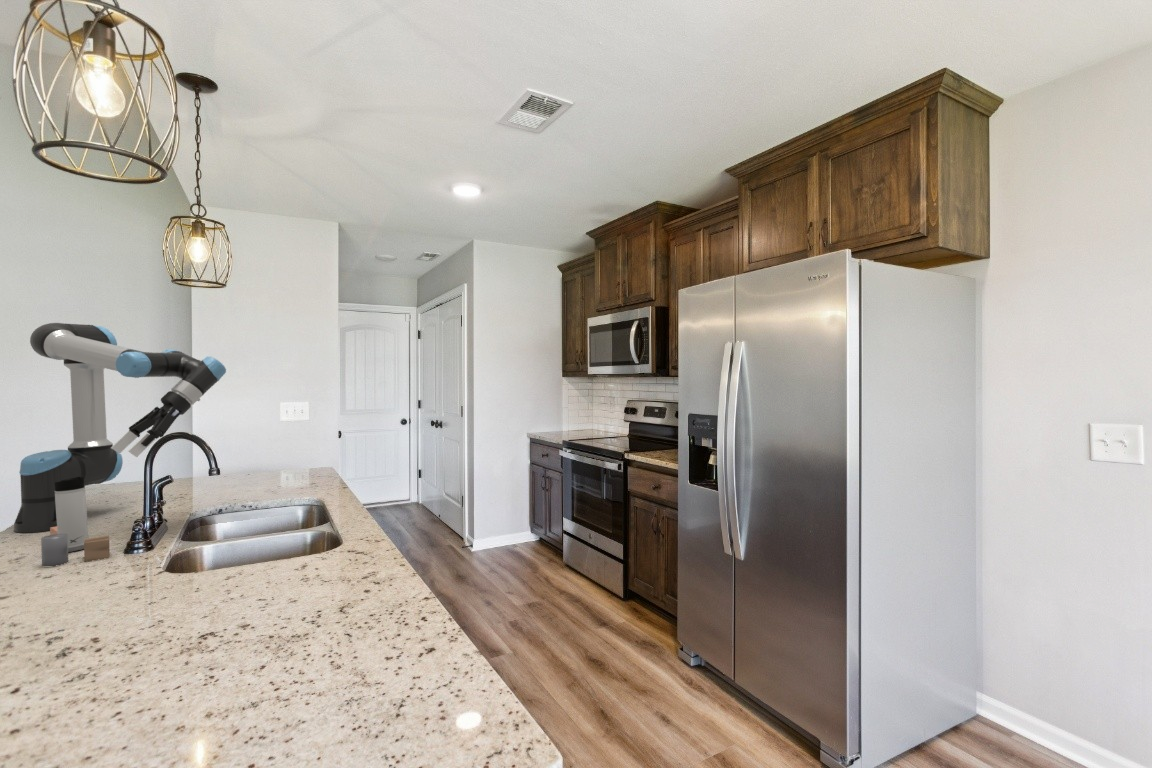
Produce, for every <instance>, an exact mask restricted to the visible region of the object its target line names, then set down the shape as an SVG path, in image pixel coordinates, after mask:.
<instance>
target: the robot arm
mask: <svg viewBox="0 0 1152 768" xmlns="http://www.w3.org/2000/svg"><path fill="white" fill-rule="evenodd" d="M29 343H30V346H31V349H32V350H33V351H34V352H35V353H36V354H38V355H39V356H42V357H44V358H48V359H52V360H56V361H63V365H64V366H65V367H66V368H67V369H69V372H70V373H69V374H70V375H69V376H70V393H71V397H70V398H71V413H72V414H71V415H72V434H73V436H72V437H73V438H72V439H73V441H72V442H71V443H70V444H69V445H68V446H67V449H53V450H46V451H41V452H37V453H33V454H30V455H27V456H25V457H23V459H21V461H20V468H19V475H20V497H21V498H20V499H21V500H20V501H21V504H20V508H19V509H18V512H17V516H16V518H15V519H14V523H13V531H14V532H16V533H20V534H21V533H24V534H25V533H39V532H47V531H50V527H56V526H57V518H56V503H55V485H54V482H60V481H61V480H65V479H70V478H76V477H79V476H85V478H84V485H85V487H86V486H91V485H99V484H100V485H101V484H103V483H106V482H109V481H112V480H114V479H115V478H116V477H117V476H118V475H119V474H120V472H121V470H122V468H123V462H124V461H123V456H122V454H121V453H122V452H123V451H125V449H126V448H127V447H128V446H130V445H131V444H132V443H133V442H134V441H135V440H136V439H137V438H140V437H141V434H142V433H143V432H145V431H146V433H145V434H144V435H143V436H142V437H141V438H140V439H139V440H138V441H137V442H136V443H135V444H133V445H132V446H131V447H130V448H129V449H128V450H127V452H129V453H130V454H131V455H132V456H134V457H135V458H138V457H139V456H140V455H141V454H142V453H143V452H144V451H146V449H147V448H148V447H149V446H150V445H151V444H153V442H154V441H155V440H157V439H159V438H163V436H164V435H165V434H166V433H167V431H168V430H169V429H170V427H171V426H172V424H174V422H175V421H176V419H177V418H179V416H180V415H181V416H183V415H184V414H186V412H188V410H190V409H191V408H192V405H194V404H196V402H200V401H201V399H200V398H202V397H203V396H204V395H205V394H206V393H207V392H208V391H209V390H210V389H211V388H213V386H215V384H216V383H217V382H219V381H220V380H221V379H222V377H224V375H225V374H226V372H227V368H226V367H225V365H224V364H223V362H221V361H220V360H219V359H217V358H215V357H213V356H206V357H204V358H202V360H200V359H198V358H195V357H192V356H190V355H188V354H186V353H184V352H182V351H180V350H177V349H172V348H168V349H166V350H164V351H162V352H150V351H149V352H148V351H141V350H137V349H133V348H129V347H124V346H120V345H118V341H117V339H116V336H115V335H114V333H113V332H112V331H110V330H109V328H106V327H105V326H100V325H94V324H77V323H63V322H49V323H46V324H42V325H40V326H38V327H37V328H36V329H34V330H33V332H32V333H31V334H30V338H29ZM105 369H106V370H112V371H116V372H118V373H120V375H121V376H123V377H125V378H126V377H127V378H135V379H139V378H156V377H157V378H158V377H159V378H160V377H161V378H162V377H165V378H167V377H168V378H170V377H174V378H175V377H176V378H179V379H180V380H179V381H178V382H177V383H176V384H175V385H174V386H172V388H171V391H168V392H166V393H165V394H164V395H163V396H162V397H161V398H160V401H161V403H162V406H161V407H158V406H156V407H154V408H153V409H152V410H151V411H150V412H149V413H147V414H145V415H144V416H142V418H140V419H139V420H138V421H136V422H134V423H133V424H132V425H131V426H129V427H128V431H127V432H126V433H125V434H124V435H123V436H122V437H120V439H118V440H117V442H115V443H114V444H113V442H112V441H110V440H109V439H108V438H107V437H108V436H107V434H108V433H107V417H106V416H107V415H106V397H105V396H106V395H105V372H104V371H105ZM149 428H151V429H149Z"/></svg>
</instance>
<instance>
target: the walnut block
mask: <svg viewBox="0 0 1152 768" xmlns="http://www.w3.org/2000/svg"><path fill="white" fill-rule="evenodd" d="M83 551H84V554H83V555H84V563H87V562H86V561H88V562H93V561H92V560H94V561H99V560H98V559H100V560H105V559H104V558H106V559H110V558H109V557H111V556H110V554H111V552H110V535H109V534H108V535H100V536H95V537H89V538H86V539H84V549H83Z"/></svg>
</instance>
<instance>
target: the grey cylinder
mask: <svg viewBox="0 0 1152 768" xmlns="http://www.w3.org/2000/svg"><path fill="white" fill-rule="evenodd" d="M40 541H41V542H40V545H41V549H40V550H41V567H42V566H53V567H57V566H56V565H59V566H62V565H61V564H63V565H65V564H64V563H66V564H67V562H68V563H69V552H68V534H55V535H50V534H49V535H45V536H42V537H41V538H40Z"/></svg>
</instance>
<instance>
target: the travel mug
mask: <svg viewBox="0 0 1152 768" xmlns="http://www.w3.org/2000/svg"><path fill="white" fill-rule="evenodd" d="M84 478H85V476H79V477H76V478H70V479H65V480H61V481H60V482H54V485H55V503H56V518H57V532H58V534H68V553H70V552H77V551H81V550H84V539H86V538H90V536H89V526H88V525H89V524H88V511H87V494H86V486H85V485H84Z"/></svg>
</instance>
